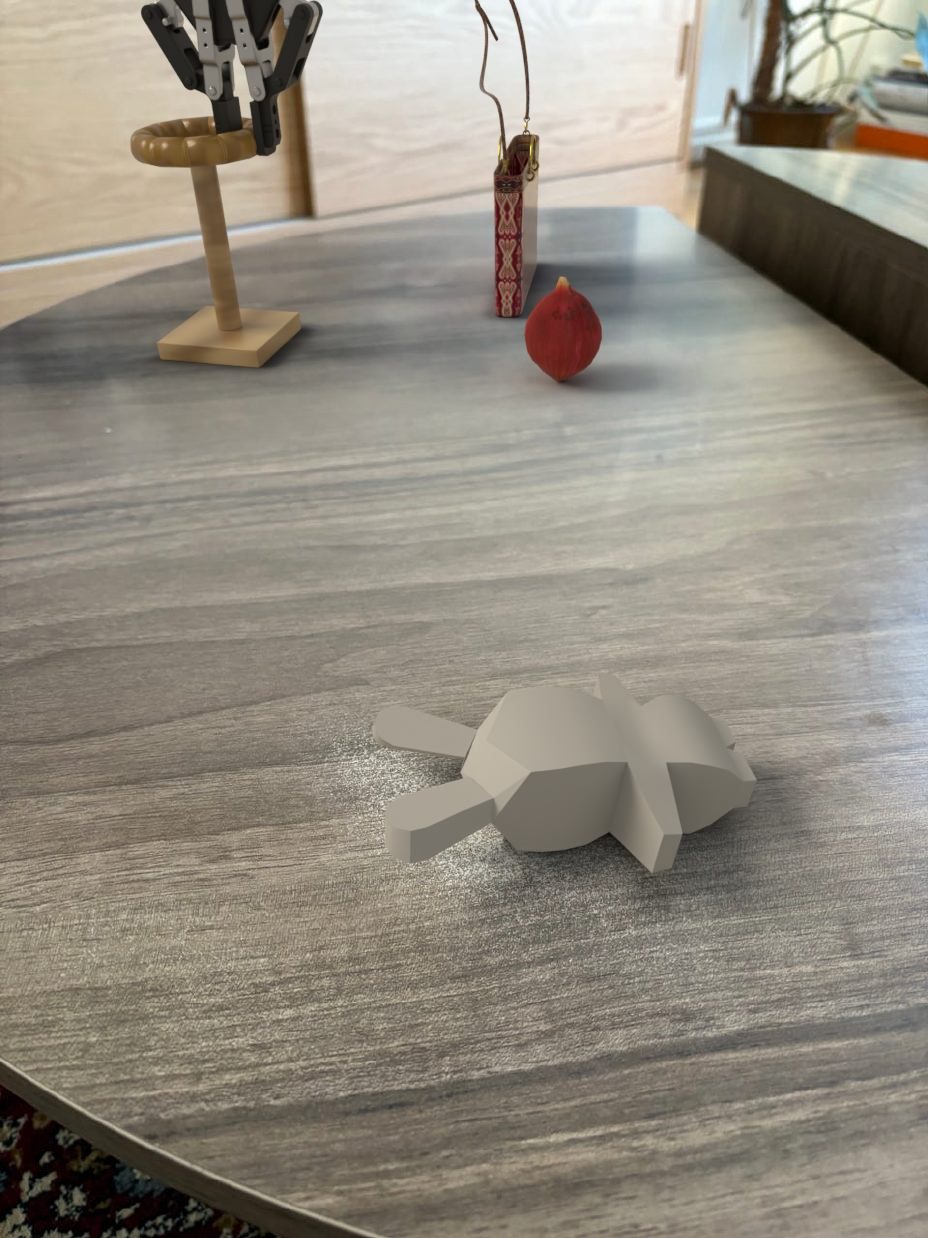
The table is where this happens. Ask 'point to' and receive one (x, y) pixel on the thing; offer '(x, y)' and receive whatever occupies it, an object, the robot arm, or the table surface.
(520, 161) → the handbag
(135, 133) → the ring
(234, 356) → the stand
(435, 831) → the bunny figurine
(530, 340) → the onion
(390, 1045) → the table surface
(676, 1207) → the table surface
